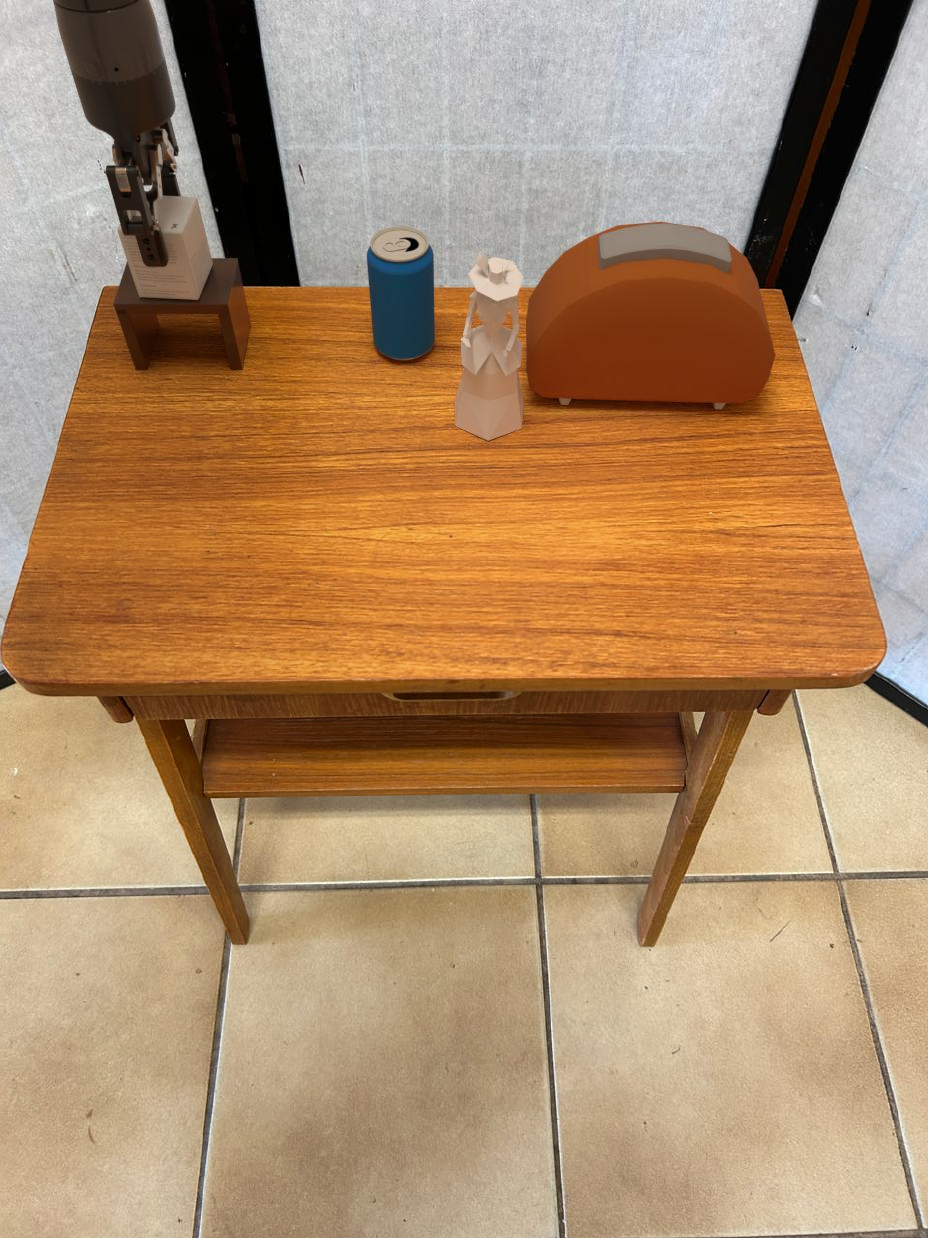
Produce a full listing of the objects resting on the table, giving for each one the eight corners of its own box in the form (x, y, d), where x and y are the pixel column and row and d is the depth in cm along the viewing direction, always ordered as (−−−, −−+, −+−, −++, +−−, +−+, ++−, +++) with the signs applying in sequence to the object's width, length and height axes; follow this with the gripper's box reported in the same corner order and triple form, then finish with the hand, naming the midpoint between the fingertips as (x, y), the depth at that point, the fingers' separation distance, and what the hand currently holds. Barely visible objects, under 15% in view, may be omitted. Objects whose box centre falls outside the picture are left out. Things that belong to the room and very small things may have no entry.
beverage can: (442, 358, 99) (441, 255, 90) (382, 370, 98) (375, 267, 88) (425, 320, 103) (422, 218, 93) (367, 331, 102) (358, 229, 92)
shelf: (242, 369, 98) (227, 303, 92) (135, 370, 98) (112, 303, 91) (251, 323, 102) (237, 257, 96) (148, 323, 102) (127, 257, 96)
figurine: (455, 442, 92) (456, 280, 78) (453, 386, 97) (453, 223, 82) (528, 440, 92) (542, 279, 78) (521, 384, 97) (534, 222, 82)
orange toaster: (745, 356, 100) (792, 208, 86) (758, 415, 95) (809, 267, 81) (523, 350, 100) (534, 201, 87) (523, 409, 95) (535, 260, 81)
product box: (215, 265, 95) (199, 195, 89) (199, 302, 92) (181, 233, 86) (155, 260, 95) (135, 191, 89) (136, 298, 92) (115, 228, 86)
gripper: (146, 99, 73) (193, 283, 86) (177, 16, 81) (215, 196, 94) (47, 98, 72) (109, 283, 86) (88, 15, 81) (139, 195, 94)
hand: (165, 237), depth 90 cm, fingers open, 8 cm apart
